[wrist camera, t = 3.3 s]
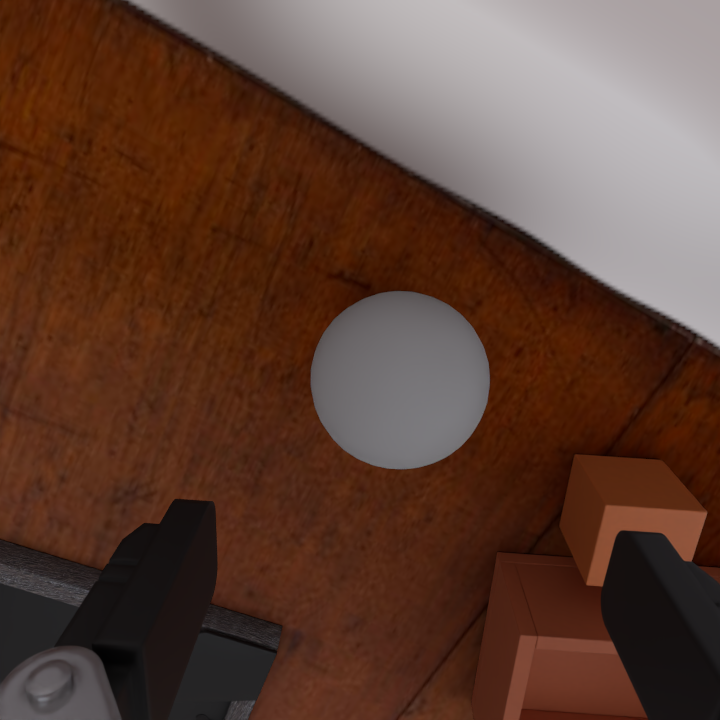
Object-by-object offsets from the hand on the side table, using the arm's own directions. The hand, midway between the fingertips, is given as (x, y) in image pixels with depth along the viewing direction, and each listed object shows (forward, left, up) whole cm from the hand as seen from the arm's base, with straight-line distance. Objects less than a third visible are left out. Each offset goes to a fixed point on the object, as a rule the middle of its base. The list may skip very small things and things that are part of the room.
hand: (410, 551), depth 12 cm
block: (-12, +9, -17) cm, 23 cm away
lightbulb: (0, 0, -17) cm, 17 cm away
